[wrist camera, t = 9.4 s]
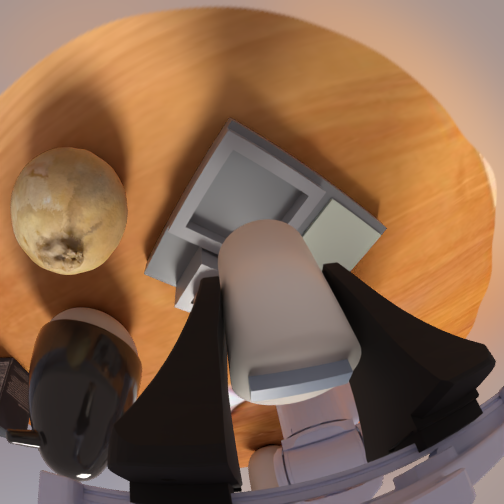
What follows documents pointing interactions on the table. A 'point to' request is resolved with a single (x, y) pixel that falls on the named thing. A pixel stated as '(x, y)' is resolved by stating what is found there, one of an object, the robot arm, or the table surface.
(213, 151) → the housing
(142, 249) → the table surface
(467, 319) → the table surface
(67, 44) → the table surface
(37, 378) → the pump dispenser
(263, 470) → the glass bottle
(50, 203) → the onion
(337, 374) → the disc
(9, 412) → the small box
